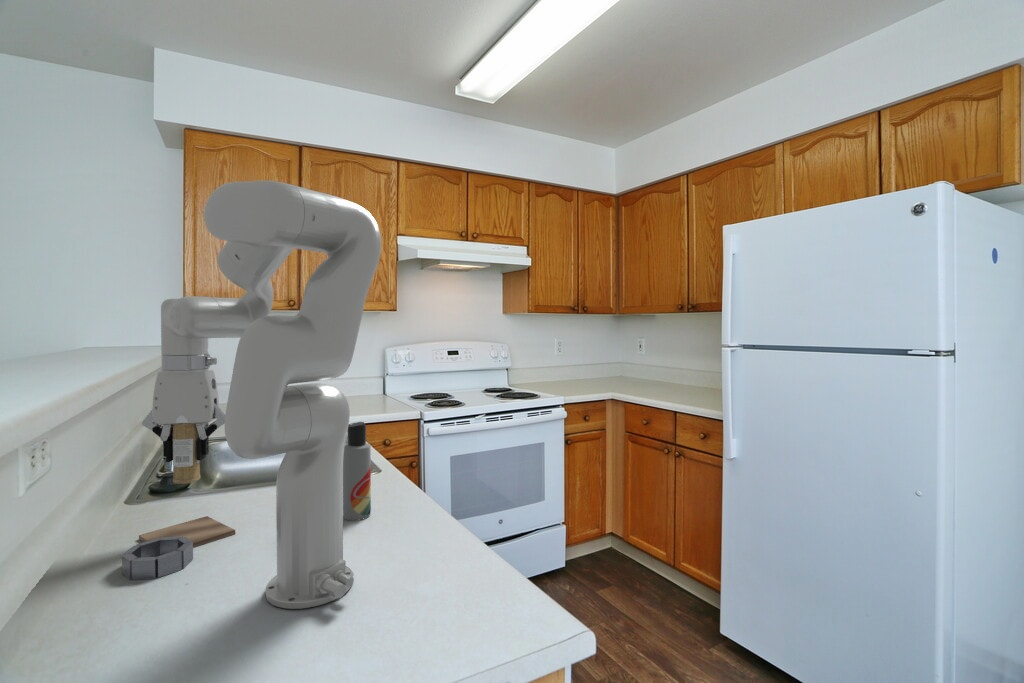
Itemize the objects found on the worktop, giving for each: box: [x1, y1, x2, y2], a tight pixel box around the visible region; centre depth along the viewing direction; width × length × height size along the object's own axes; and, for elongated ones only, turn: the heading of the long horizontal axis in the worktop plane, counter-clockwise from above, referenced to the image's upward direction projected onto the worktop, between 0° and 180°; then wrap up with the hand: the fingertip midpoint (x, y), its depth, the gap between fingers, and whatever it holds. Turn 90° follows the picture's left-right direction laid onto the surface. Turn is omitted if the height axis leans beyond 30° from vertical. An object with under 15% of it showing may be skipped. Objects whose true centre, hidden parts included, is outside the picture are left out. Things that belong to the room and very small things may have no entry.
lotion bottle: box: [343, 421, 372, 521], centre depth 108 cm, size 6×6×20 cm
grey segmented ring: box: [121, 536, 194, 581], centre depth 86 cm, size 9×9×3 cm
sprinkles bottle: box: [172, 416, 202, 485], centre depth 97 cm, size 5×5×14 cm
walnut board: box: [138, 516, 236, 548], centre depth 97 cm, size 12×12×1 cm
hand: (186, 458), depth 97 cm, fingers closed on sprinkles bottle, 4 cm apart
